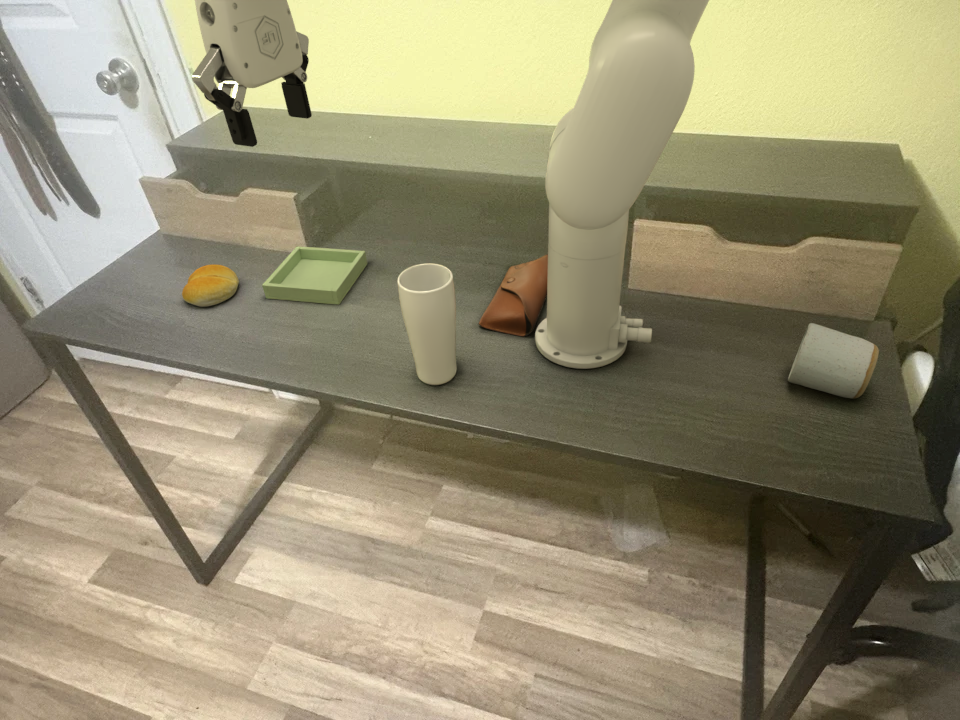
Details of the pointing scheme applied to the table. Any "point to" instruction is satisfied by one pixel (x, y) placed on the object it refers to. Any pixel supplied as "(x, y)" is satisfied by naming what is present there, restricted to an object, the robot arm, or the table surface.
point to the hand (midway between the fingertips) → (274, 130)
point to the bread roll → (210, 285)
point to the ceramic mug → (834, 362)
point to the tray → (315, 275)
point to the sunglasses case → (518, 299)
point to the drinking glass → (430, 320)
